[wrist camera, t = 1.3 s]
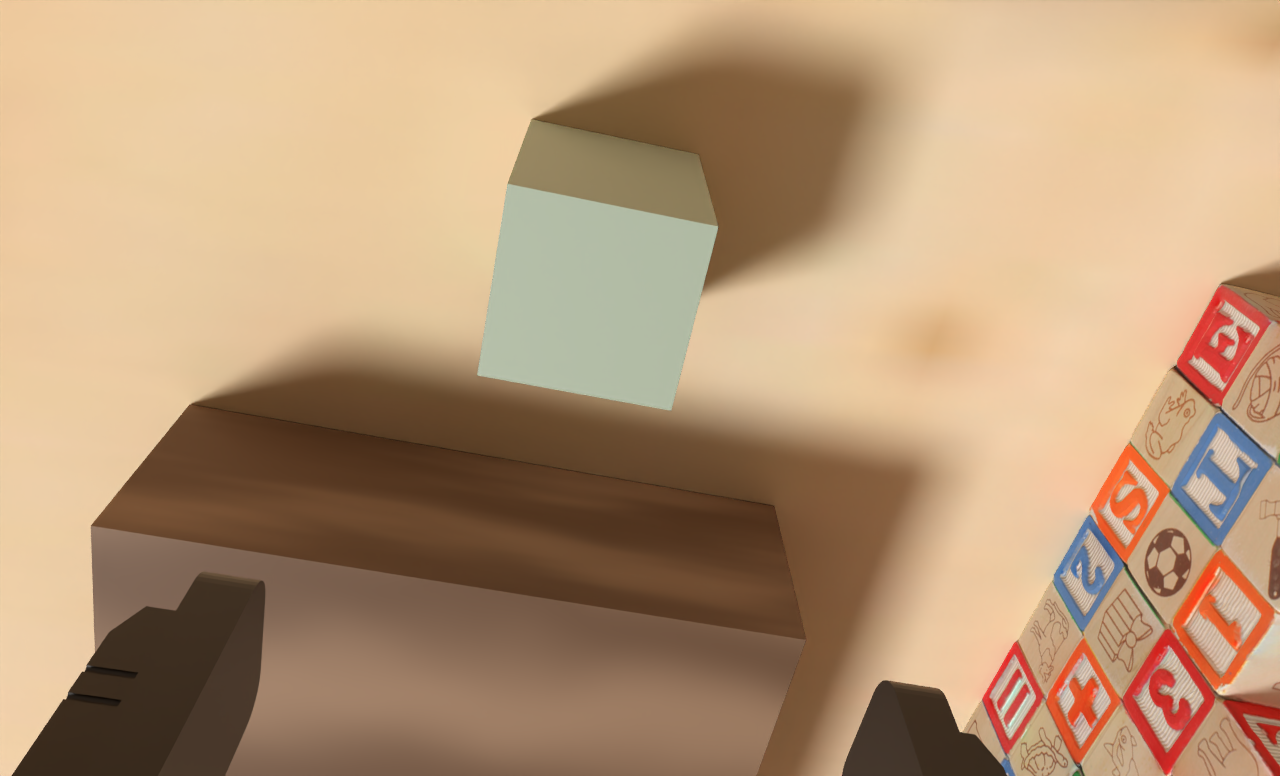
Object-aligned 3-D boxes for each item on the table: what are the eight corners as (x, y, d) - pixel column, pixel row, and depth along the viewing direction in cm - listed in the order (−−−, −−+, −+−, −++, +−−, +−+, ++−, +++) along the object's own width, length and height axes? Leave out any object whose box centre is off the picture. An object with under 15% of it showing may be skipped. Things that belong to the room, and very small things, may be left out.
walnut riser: (189, 404, 34) (90, 525, 27) (773, 506, 36) (806, 640, 30) (183, 752, 41) (103, 912, 34) (672, 820, 43) (681, 982, 37)
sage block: (531, 118, 30) (507, 183, 23) (698, 154, 30) (718, 226, 24) (505, 277, 32) (477, 375, 26) (661, 307, 32) (671, 411, 26)
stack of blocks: (1213, 274, 32) (1518, 482, 21) (1384, 321, 33) (1764, 544, 22) (947, 753, 42) (1065, 1070, 31) (1087, 780, 42) (1250, 1098, 31)
